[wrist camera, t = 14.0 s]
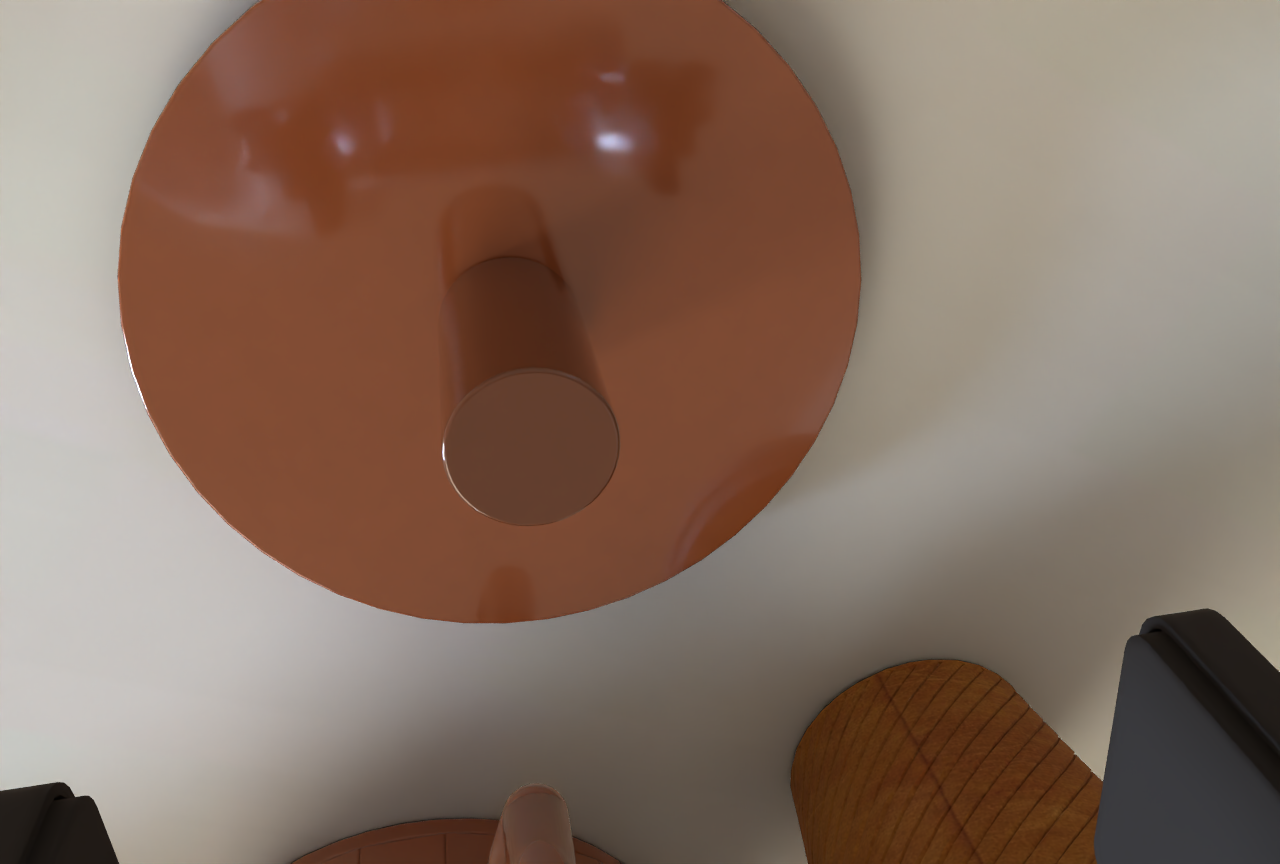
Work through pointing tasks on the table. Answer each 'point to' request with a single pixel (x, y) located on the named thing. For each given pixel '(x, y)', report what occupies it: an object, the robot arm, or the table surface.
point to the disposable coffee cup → (940, 775)
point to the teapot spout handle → (533, 829)
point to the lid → (489, 292)
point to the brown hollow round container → (430, 845)
